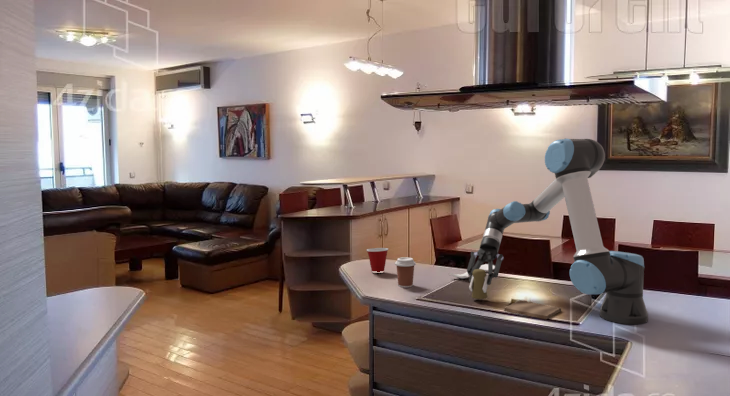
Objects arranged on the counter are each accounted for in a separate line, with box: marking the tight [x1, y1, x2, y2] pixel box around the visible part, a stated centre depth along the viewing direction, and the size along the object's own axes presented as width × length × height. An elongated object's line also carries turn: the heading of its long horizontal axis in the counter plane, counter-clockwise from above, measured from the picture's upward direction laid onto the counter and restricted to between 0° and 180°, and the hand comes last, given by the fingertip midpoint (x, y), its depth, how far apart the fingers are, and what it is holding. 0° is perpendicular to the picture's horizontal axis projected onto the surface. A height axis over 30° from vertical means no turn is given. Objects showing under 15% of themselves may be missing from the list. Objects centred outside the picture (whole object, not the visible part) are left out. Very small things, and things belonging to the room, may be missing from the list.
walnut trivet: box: [503, 299, 562, 320], centre depth 200 cm, size 16×13×1 cm
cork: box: [471, 269, 488, 300], centre depth 214 cm, size 6×6×11 cm
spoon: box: [448, 263, 495, 279], centre depth 259 cm, size 9×32×4 cm, turn 139°
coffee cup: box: [394, 256, 417, 288], centre depth 239 cm, size 9×9×12 cm
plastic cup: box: [366, 247, 389, 272], centre depth 265 cm, size 11×11×12 cm
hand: (477, 290), depth 212 cm, fingers closed on cork, 5 cm apart
